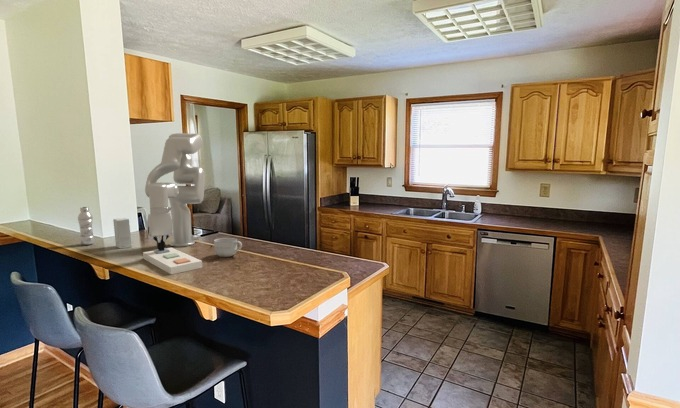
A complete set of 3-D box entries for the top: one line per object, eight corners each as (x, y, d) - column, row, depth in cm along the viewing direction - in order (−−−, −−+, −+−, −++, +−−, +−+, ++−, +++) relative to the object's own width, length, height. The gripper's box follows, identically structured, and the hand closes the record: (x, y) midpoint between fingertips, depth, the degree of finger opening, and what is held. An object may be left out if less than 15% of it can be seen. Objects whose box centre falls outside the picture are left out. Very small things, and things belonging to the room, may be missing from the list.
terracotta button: (185, 262, 157) (185, 257, 156) (190, 264, 153) (190, 260, 153) (173, 264, 153) (173, 260, 153) (178, 267, 150) (178, 262, 149)
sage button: (174, 257, 164) (174, 253, 164) (179, 259, 161) (179, 255, 160) (163, 259, 161) (163, 255, 160) (167, 261, 157) (167, 257, 157)
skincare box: (132, 247, 188) (130, 219, 186) (118, 249, 183) (116, 220, 182) (127, 244, 194) (125, 217, 192) (114, 246, 189) (112, 218, 188)
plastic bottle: (87, 246, 188) (84, 208, 186) (76, 245, 190) (73, 208, 187) (98, 243, 195) (95, 206, 192) (87, 242, 196) (84, 206, 193)
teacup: (209, 256, 172) (208, 240, 171) (226, 251, 181) (225, 235, 180) (231, 260, 165) (230, 243, 164) (247, 255, 175) (247, 239, 174)
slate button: (165, 252, 172) (165, 247, 171) (169, 254, 168) (169, 249, 168) (154, 254, 168) (153, 249, 168) (158, 256, 165) (158, 251, 164)
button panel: (172, 253, 176) (171, 247, 176) (202, 267, 155) (202, 260, 154) (143, 258, 167) (142, 252, 167) (171, 274, 145) (170, 267, 145)
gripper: (172, 208, 173) (174, 246, 175) (138, 211, 162) (141, 251, 165) (179, 210, 168) (180, 248, 170) (144, 213, 157) (146, 254, 159)
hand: (161, 249), depth 167 cm, fingers closed
